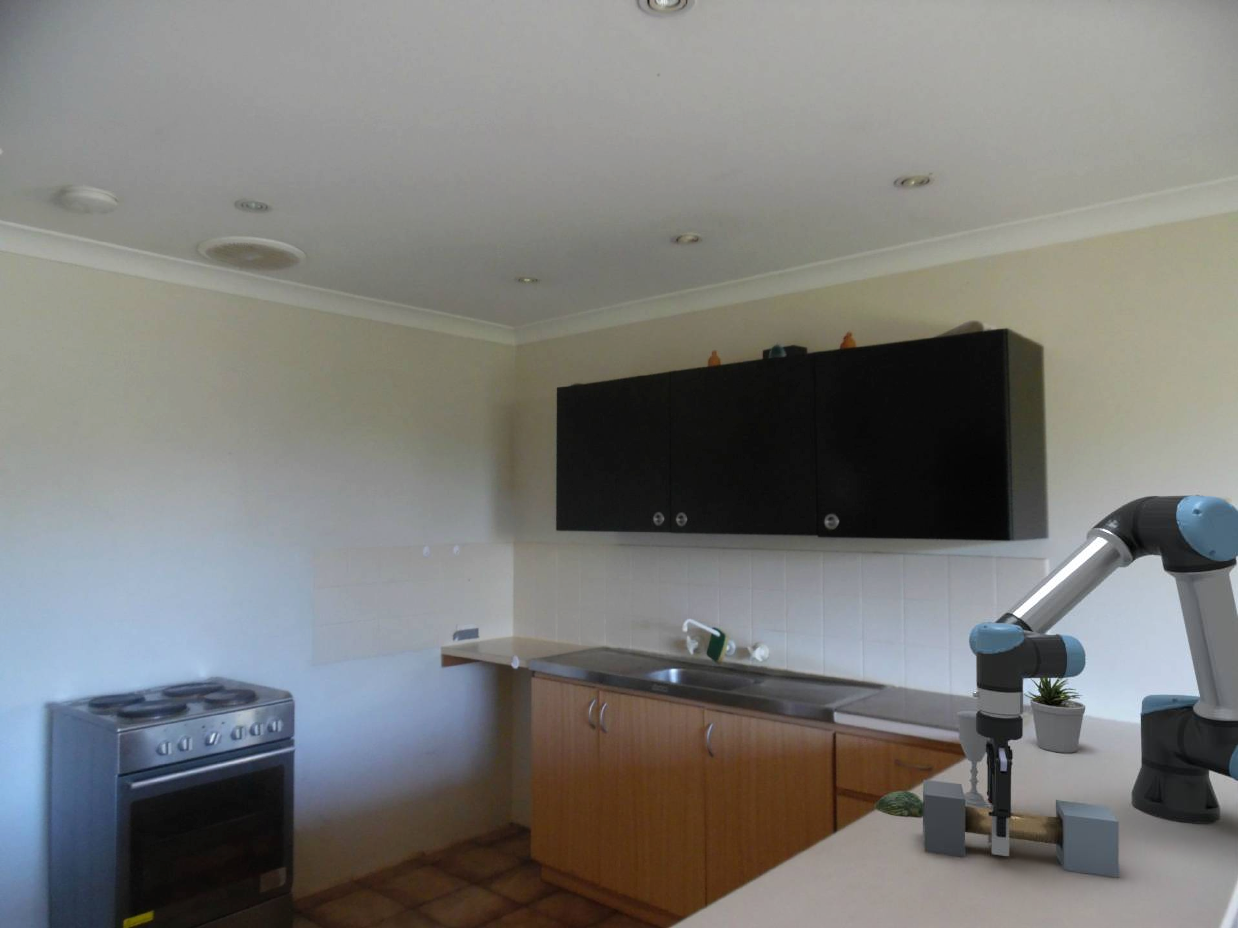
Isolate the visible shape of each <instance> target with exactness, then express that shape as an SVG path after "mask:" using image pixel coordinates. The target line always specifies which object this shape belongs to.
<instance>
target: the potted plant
mask: <svg viewBox="0 0 1238 928" xmlns="http://www.w3.org/2000/svg"><path fill="white" fill-rule="evenodd" d="M1029 679H1030V680H1031V681H1032V682H1033V683H1034V684H1035V686H1036V687H1037V688H1038V689H1037V691H1038V693H1039V694H1037V695H1036V694H1034V693H1032V692H1031V691H1028V690H1027V693H1028V694H1029V695H1031V696H1029V695H1026V693H1023V696H1025V697H1028V698H1029V700H1030V708H1031V710H1032V715H1033V722H1034V728H1035V737H1036V743H1037V745H1038V746H1039V748H1041V749H1043V750H1045V751H1050V752H1054V753H1061V754H1062V753H1064V754H1070V753H1074V752H1077V750H1078V747H1079V741H1080V736H1081V731H1082V725H1083V719H1084V714H1085V711H1086V705H1085V704H1083V703H1081V702H1078V701H1075V700H1073V699H1081V697H1082V695H1081V694H1080V695H1079V692H1078V693H1077V692H1075V691H1076V690H1077V689H1075V688H1070V687H1069V688H1064V689H1062V688H1063V686H1065V685H1067V684H1068V680H1069V678H1065V679H1064V680H1063V679H1060V678H1056V681H1055V682H1054V683H1053V685H1052V678H1039V680H1040V682H1039V684H1038V683H1037V682H1036V681H1035V680H1034V679H1033V678H1029ZM1060 681H1061V682H1060ZM1069 690H1070V691H1069ZM1071 690H1073V691H1071ZM1069 694H1072V695H1069ZM1032 696H1033V697H1032Z"/></svg>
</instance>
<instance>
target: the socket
mask: <svg viewBox="0 0 1238 928" xmlns="http://www.w3.org/2000/svg"><path fill="white" fill-rule="evenodd" d="M922 785H923V786H922V787H923V789H922V791H923V793H922V798H923V799H922V802H923V817H922V839H923V849H924V853H931V854H932V853H933V854H939V855H945V856H952V857H953V856H954V857H961V858H966V832H965V796H964V795H965V793H964V789H963V786H962V783H956V782H946V781H936V780H928V779H923V784H922Z"/></svg>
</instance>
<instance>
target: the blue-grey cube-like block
mask: <svg viewBox="0 0 1238 928" xmlns="http://www.w3.org/2000/svg"><path fill="white" fill-rule="evenodd" d="M1055 817H1061V818H1062V820H1063V845H1057V844H1055V854H1056V856H1057V859H1058V860H1059V862H1060V864H1061V867H1062V869H1063V870H1064V871H1067V872H1069V871H1070V872H1075V873H1080V874H1081V873H1082V874H1087V875H1088V874H1090V875H1098V876H1103V877H1110V878H1118V879H1119V874H1120V871H1119V869H1120V868H1119V865H1120V864H1119V858H1120V857H1119V856H1120V855H1119V854H1120V852H1119V851H1120V849H1119V845H1120V843H1119V842H1120V839H1119V838H1120V836H1119V835H1120V834H1119V832H1120V829H1119V828H1120V827H1119V825H1120V821H1119V820H1118V819H1117V817H1116V816H1115V815H1114V813H1113V812H1112V810H1111V809H1110V808H1109V806H1108V805H1101V804H1094V803H1093V804H1092V803H1085V802H1083V803H1082V802H1075V801H1067V800H1061V799H1060V800H1059V799H1058V800H1057V799H1056V800H1055Z"/></svg>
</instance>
